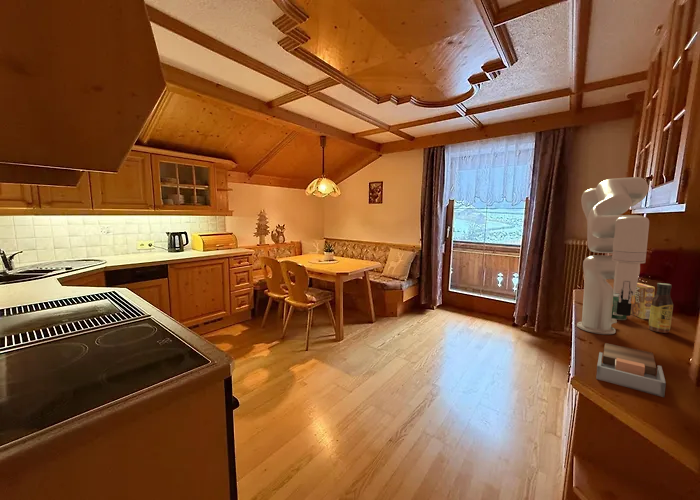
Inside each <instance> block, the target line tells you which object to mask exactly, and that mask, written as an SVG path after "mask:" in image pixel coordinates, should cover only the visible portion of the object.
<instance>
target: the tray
mask: <svg viewBox="0 0 700 500" xmlns="http://www.w3.org/2000/svg"><path fill="white" fill-rule="evenodd" d="M603 354H604V352H601V351H599V353H598V358H597V359H598V360H597V364H596V376H595V377H596V380H598V381H603V382H607V383H611V384H614V385H618V386H621V387H625V388H629V389H631V390H636V391H639V392H643V393H647V394H651V395H654V396H658V397H661V398H665V393H666V387H667V386H666V383H667V382H666V379H665V375H664V371H663V366H662V365H657V366H656V375H655V376H653V375H649V374H645V373H644V377H643V376H639V375H635V374H631V373H627V372H623V371H619V370H615V366H612V365H608V364H604V363H603Z"/></svg>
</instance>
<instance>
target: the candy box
mask: <svg viewBox="0 0 700 500" xmlns="http://www.w3.org/2000/svg"><path fill="white" fill-rule="evenodd" d="M655 291H656V288H655V286H652V285H649V284H646V283H645V284H644V283H641V282H637V288H636V292H635V295H633V296H631V303H632V305H631V315H632V316H635V317H637V318H640V319H641V320H649V317H650V309H651V304H652V299H653V297H654V296H655Z"/></svg>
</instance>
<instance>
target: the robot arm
mask: <svg viewBox="0 0 700 500" xmlns="http://www.w3.org/2000/svg"><path fill="white" fill-rule="evenodd" d="M648 192H649V185H648V181H646V179H644V178H643V177H638V176H636V177H635V176H634V177H633V176H632V177H619V178H617V177H615V178H608V179H604V180H603V181H601V182H599V183H598V184H597V186H596V187H593V188H589V189H587V190H584V191H583V192H582V195H581V202H580V203H581V208H582V211H583V215H585V219H586V223H587V224H586V225H587V227H586V228H587V237H586V238H587V239H586V240H587V242H586V243H587V248H588V250H589V251H590V252H593V253H600V254H601V253H602V255H600V254H597V255H595V254H594V255H590V256H587V257H585V258H584V260H583V261H582V270H583V277H584V279H583V280H584V282H583V286H584V287H583V299H582V313H581V321H578V322H577V323H576V326H577V327H578V328H579V329H581V330H583V331H585V332H588V333H592V334H597V335H614V334H615V333H616V330H617V329H616V328H614V327H613V326H612V325H613V324H617V322H618V321H617V320H616V319H611V318H612V305H613V293H615V294H616V293H619V301H617V314H619V315H626V316H627V317H630V316H631V315H632V314H631V305H632V303H631V296H633V295H635V292H636V288H637V283H639V276H640V272H641V264H646V259H647V252H648V251H647V250H648V240H649V229H650V220H649V218H648V217H646V216H643V215H639V214H638V215H637V214H625V215H623V214H624V213H626V212H627V211H628V210H630V208H631V207H632V208H633V207H634V206H636V205H638V203H640V202H642V201H643V200H644V199H645V198H646V197H647V195H648ZM603 254H612V255H603ZM607 280H613V287H612V285H611V284H610V283H609V282H608V281H607Z"/></svg>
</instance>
